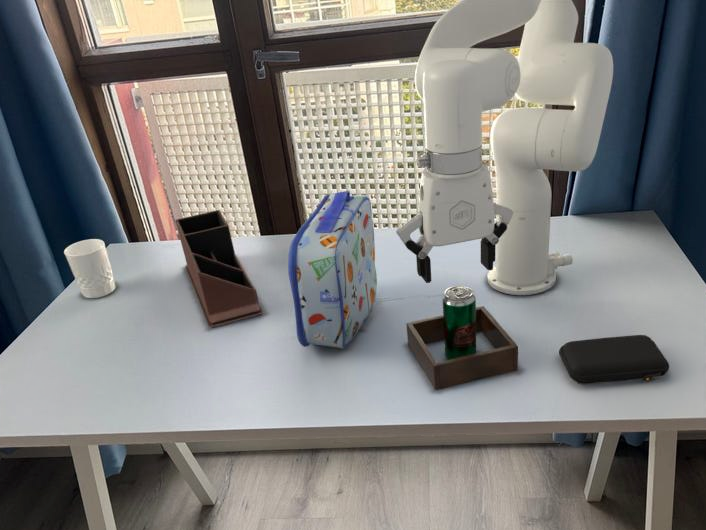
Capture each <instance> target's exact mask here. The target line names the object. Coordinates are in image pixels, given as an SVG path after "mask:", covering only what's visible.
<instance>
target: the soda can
mask: <svg viewBox="0 0 706 530" xmlns="http://www.w3.org/2000/svg"><path fill="white" fill-rule="evenodd" d="M476 304H477V299H476V295H475V294H474V291H473V289H472V288H471V287H468V286H464V285H456V286H451V287H448V288H447V289H446V290H445V291H444V295H443V297H442V315H443V323H444V340H443V341H444V343H443V344H444V357H445V359H446V360H450V359H454V358H459V357H463V356H467V355H472V354H476V353H478V352H477V333H476V307H477V305H476Z"/></svg>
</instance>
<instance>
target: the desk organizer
mask: <svg viewBox="0 0 706 530" xmlns="http://www.w3.org/2000/svg"><path fill="white" fill-rule="evenodd" d="M174 222H175V225H176V228H177V229H176V230H177V232H178V236H179V240H180V243H181V248H182V251H183V255H184V259H185V263H186V265H185V266H184V267H185V269H186V272H187V275H188V277H189V280H190V282H191V285H192V288H193V290H194V293H195V296H196V298H197V300H198V302H199V306H200V308H201V311H202V313H203V316H204V318H205V321H206V324H207V326H208V329H211V328H215V327H218V326H222V325H226V324H229V323H233V322H238V321H241V320H244V319H248V318H252V317H255V316H256V317H257V316H260V315H263V314H264V311H263V309H262V307H261V305H260V302H259V297H258V293H257V289H256V287H255V286H254V285H253V283H252V281H251V280H250V278H249V277H248V274H247V272H246V271H245V269H244V267H243V266H242V264H241V262H240V260H239V258H238V257H237V255H236V252H235V248H234V243H233V239H232V235H231V231H230V226H229V224H228V222H227V220H226V218H225V216H224V214H223V213H222V211H221V209H217V210H211V211H208V212H203V213H199V214H195V215H190V216H187V217H186V216H185V217H182V218H177V219H175V221H174Z"/></svg>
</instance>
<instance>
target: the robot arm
mask: <svg viewBox="0 0 706 530" xmlns="http://www.w3.org/2000/svg"><path fill="white" fill-rule="evenodd" d="M578 24H579V13H578V10H577V8H576V5H575V4H574V2H573V0H459V1H458V2H457V3H456V4H454V5H453V6H452V7H450V8H449V9H448V10H447V11H445V12H443V14H442V15H441V16H440V17H439V18H438V19H437V21H435V24H434V25H433V26H432V28H431V30H430V32H429V34H428V36H427V38H426V40H425V43H424V45H423V47H422V49H421V51H420V54H419V57H418V59H417V63H416V68H415V72H414V73H415V75H414V85H415V86H414V87H415V90H416V93H417V95H418V97H419V98H420V100H422V101H423V112H424V113H423V114H424V115H423V116H424V135H425V147H424V148H423V150H424V151H423V154H421V156H416V157H415V162H416V166H417V167H418V168H421V167H423V168H426V169H423V170H422V173H421V177H420V178H421V179H420V185H419V186H420V187H419V194H418V213H417V214H416V215H414V216H413V217H412V218H410V219H409V220H408V221H406V222H405V223H403V224H402V225H401V226H399V227H398V228H397V229H396V235H397V236H398V237H399V240H401V242H402V244H403V245H404V246H405V247H406V249H407V250H409V251H410V252H411V253H413V254H414V255H415V256H416V273H417V275H418V276H419V277H421V278H422V279H423V281H424V282H425V283H426V284H429V283H431V282H432V262H431V257H430V256H429V253H430V252H431V251H432V249H433V248H434V247H445V246H449V245H455V244H461V243H466V242H470V241H476V240H480V264H481V265H482V266H483V267H484V268H485V269H486V270H487V271H488V273H487V282H488V284H489V285H490V287H491V288H493V290H496V291H498V292H500V293H502V294H508V295H512V296H531V295H537V294H540V293H543V292H546V291H547V290H549V289H551V288H552V287H553V286H554V285H555V284H556V282H557V272H556V271H555V270H558V267H565V266H568V265H572V264H573V262H574V260H573V256H572V255H571V253H568V254H564V255H560V252H559V251H554V252H550V237H551V235H550V234H551V233H550V232H551V215H552V214H551V213H552V194H553V193H552V187H551V183H550V181H549V179H548V176H547V175H546V173H545V172H544V170H550V171H561V172H582V171H584V170H586V169H588V168H589V167H590V166H591V164H592V163H593V161H594V159H595V157H596V154H597V150H598V146H599V142H600V138H601V133H602V129H603V126H604V125H603V124H604V121H605V116H606V112H607V107H608V102H609V99H610V95H611V90H612V85H613V80H614V79H613V78H614V59H613V55H612V51H610V49H609V48H608V47H607V46H605V45H603V44H601V43H596V42H575V39H576V32H577V29H578ZM523 25H524V28H523V33H522V37H521V42H520V46H519V50H518V55H517V57H516V56H515V54H513V53H512V52H510V51H508V50H506V49H501V48H482V47H481V48H475V47H473V46H475V45H477V44H479V43H482V42H485V41H487V40H490V39H492V38H496V37H499V36H501V35H504V34H507V33H509V32H511V31H513V30H515V29H518V28H520V27H522V26H523ZM514 96H516V98H517V99H519V101H522V102H525V103H528V104H529V103H530V104H537V105H550V106H551V105H555V106H573V107H574V108H573V109H558V108H557V109H553V108H542V107H515V108H510V109H506V110H504V111H503V112H501V113H500V114H499V115H498V116H497V117H496V118H495V120H494V121H493V123H492V126H491V130H490V146H491V152H492V157H493V163H494V171H495V184H496V185H495V186H496V187H495V188H496V193H495V194H496V197H495V198H496V200H495V201H496V202H494V196H493V187H492V181H491V174H490V170H489V166H488V165H487V164H484V163H483V144H482V143H483V113H484V112H488V111H491V110H496V109H500V108H501V107H503V106H505V105H506V104H508V103H509V102H510V101H511V100H512V99H514ZM495 217H496V218H495ZM417 230H419V234H420V236H419V238H418V239H417V240H416V241H414V240H413V238H411V234H412V233H414V232H415V231H417ZM494 263H495V265H494Z"/></svg>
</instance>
